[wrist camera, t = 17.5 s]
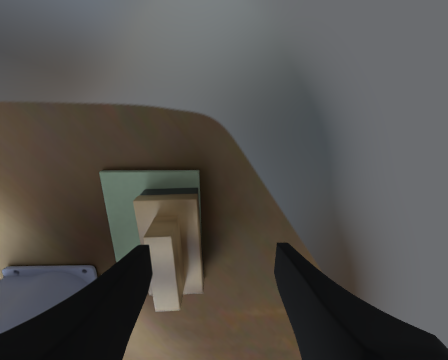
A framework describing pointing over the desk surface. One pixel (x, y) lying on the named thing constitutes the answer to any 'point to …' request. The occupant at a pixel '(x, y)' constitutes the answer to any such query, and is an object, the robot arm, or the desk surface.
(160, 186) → the pad
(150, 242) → the brush
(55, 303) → the robot arm
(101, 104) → the desk surface
